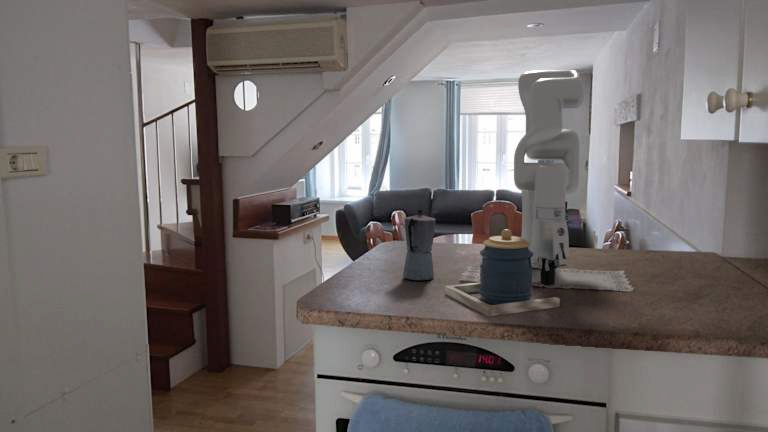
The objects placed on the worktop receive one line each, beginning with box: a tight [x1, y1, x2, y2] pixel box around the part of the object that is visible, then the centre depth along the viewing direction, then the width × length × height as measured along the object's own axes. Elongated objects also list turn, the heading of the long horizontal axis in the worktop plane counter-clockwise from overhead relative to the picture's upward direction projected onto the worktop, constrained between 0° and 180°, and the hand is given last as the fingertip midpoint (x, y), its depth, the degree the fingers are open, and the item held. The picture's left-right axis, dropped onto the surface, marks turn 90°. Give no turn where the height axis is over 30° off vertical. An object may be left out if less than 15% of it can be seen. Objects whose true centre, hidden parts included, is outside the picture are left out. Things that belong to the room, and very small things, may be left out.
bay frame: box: [444, 281, 561, 317], centre depth 139 cm, size 20×21×2 cm
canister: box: [478, 228, 534, 305], centre depth 139 cm, size 13×13×18 cm
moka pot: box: [402, 209, 437, 281], centre depth 160 cm, size 10×15×20 cm, turn 161°
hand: (547, 284), depth 144 cm, fingers closed
